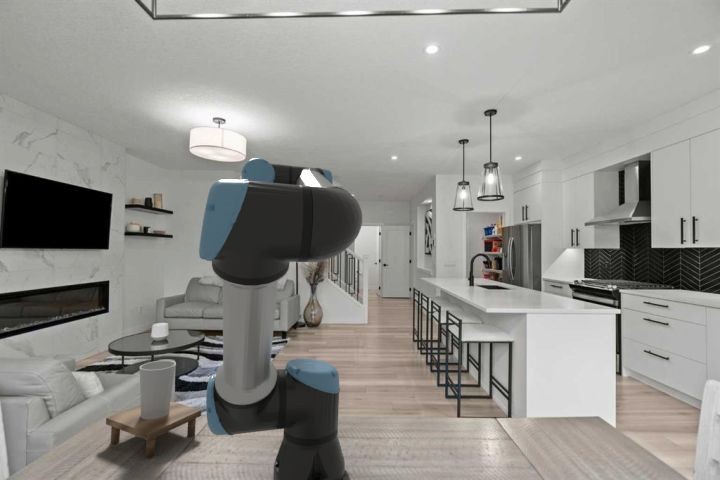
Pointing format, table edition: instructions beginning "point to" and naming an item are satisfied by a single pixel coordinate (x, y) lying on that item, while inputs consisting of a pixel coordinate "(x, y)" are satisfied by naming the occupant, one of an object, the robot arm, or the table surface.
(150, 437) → the low wooden table
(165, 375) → the cup
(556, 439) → the table surface
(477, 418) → the table surface
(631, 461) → the table surface
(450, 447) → the table surface
